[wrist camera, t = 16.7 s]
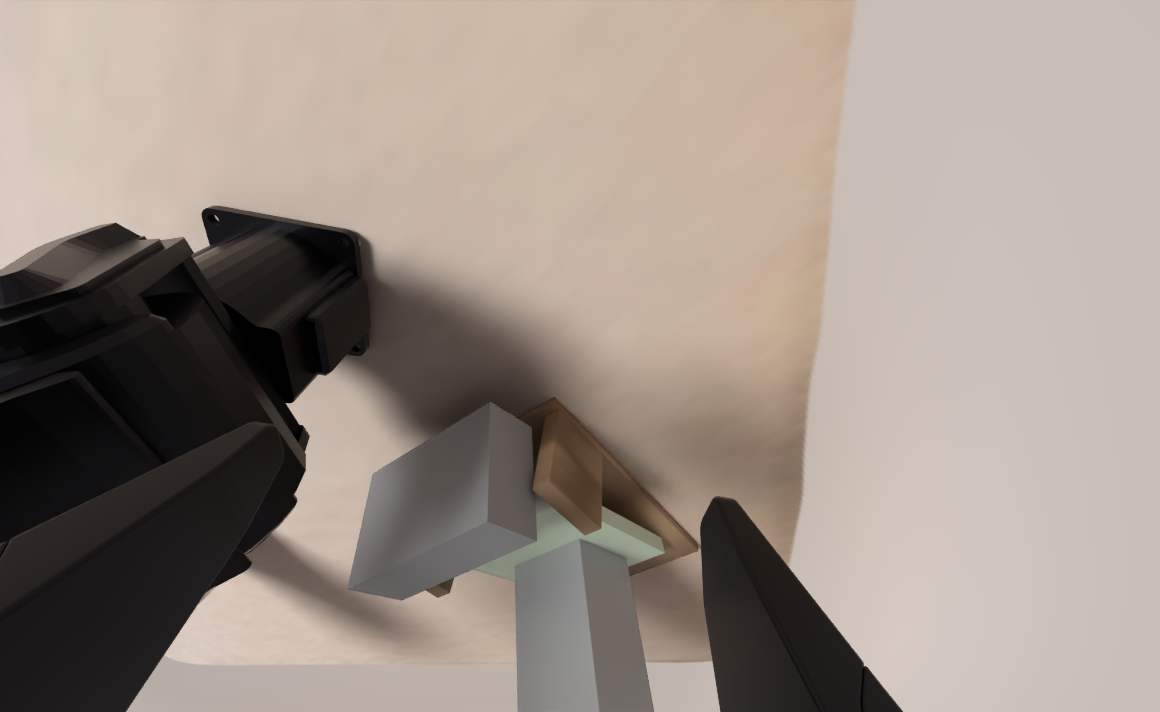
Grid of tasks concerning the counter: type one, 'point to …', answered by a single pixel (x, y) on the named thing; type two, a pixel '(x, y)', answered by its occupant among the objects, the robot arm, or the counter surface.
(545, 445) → the frame
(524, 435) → the trapdoor
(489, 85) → the counter surface
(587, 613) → the grey rectangular block
